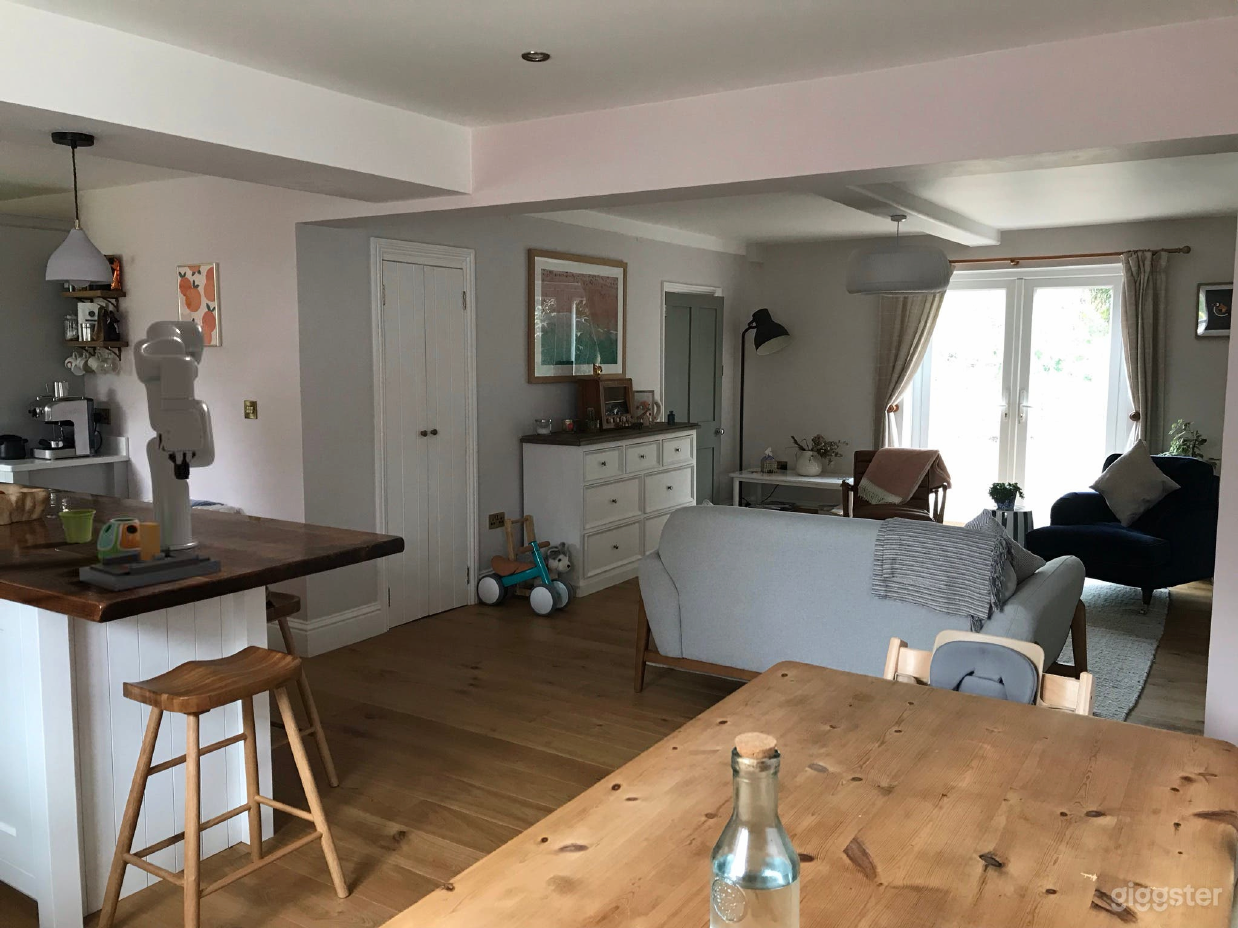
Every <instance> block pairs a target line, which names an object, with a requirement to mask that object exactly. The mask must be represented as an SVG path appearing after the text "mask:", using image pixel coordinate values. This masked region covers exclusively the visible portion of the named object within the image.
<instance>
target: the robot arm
mask: <svg viewBox="0 0 1238 928" xmlns="http://www.w3.org/2000/svg"><path fill="white" fill-rule="evenodd" d="M205 344H206V338H205V333H204V330H203V327H202V326H201V325H200V324H199V323H198V322H196V321H191V320H160V321H159V320H158V321H155V322H153V323H152V324H150V325H149V326H148V328H147V329H146V338H143V339H138V341H136V342H135V344H134V345H133V350H132V353H133V360H134V367H135V368H134V369H135V373H136V377H137V379H138V381H139V382H140V383H141V384H143V385H144V387H145V392H146V400H147V401H146V402H147V410H148V421H149V425H150V427H151V429H152V431H154V432H155V436H153V437H151V438H150V439H149V440H148V441H147V443H146V457H147V463H148V466H149V471H150V472H149V474H150V480H151V481H150V482H151V492H152V493H151V494H152V495H151V496H152V511H153V512H152V515H153V517H152V518H153V523H156V524H159V534H160V547H164V546H168V547H170V551H180V550H185V549H190V548H194V547H196V546H198V543H199V540H197V539H195V538H192V517H191V516H192V515H191V499H190V497H191V496H190V485H189V482H188V480H189V479H190V475H191V470H190V469H191V468H192V469H193V468H195V469H196V468H205V467H206V468H207V467H210V466H211V465H213V463H214V461H215V458H216V451H215V442H214V433H213V425H212V417H211V411H210V407H209V406H208V404H207V402H205V401H204V400H201V399H198V398H197V399H196V398H195V381H196V380H197V378H198V377H199V365H200V364H201V361H202V357H203V354H204V349H205Z"/></svg>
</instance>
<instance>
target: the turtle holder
mask: <svg viewBox="0 0 1238 928" xmlns="http://www.w3.org/2000/svg"><path fill="white" fill-rule="evenodd" d="M139 523H141V522H140V521H139V519H137V518H132V517H121V518H114V519H113V518H112V519H110V520H109V522H107V523H106V524H104V525H102V526H101V530H100V531H99V536H98V540H97V545H96V546H97V550H98V551H97V552H98V554H97V557H98V559H99V560H100V562H99V563H98V564H102V558H103V556H107V555H113V554H120V553H126V552H132V551H137V550H141V549H140V531H139Z"/></svg>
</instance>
